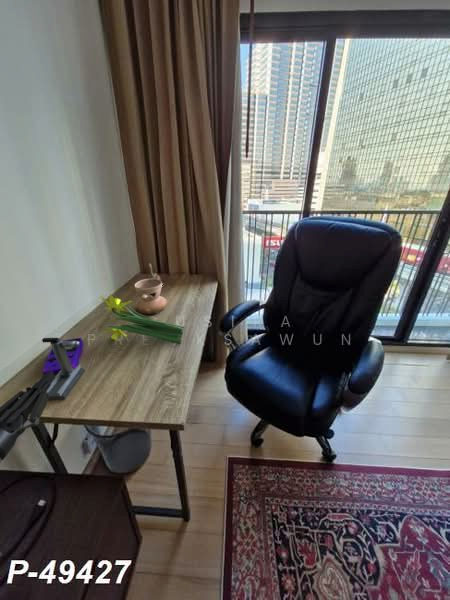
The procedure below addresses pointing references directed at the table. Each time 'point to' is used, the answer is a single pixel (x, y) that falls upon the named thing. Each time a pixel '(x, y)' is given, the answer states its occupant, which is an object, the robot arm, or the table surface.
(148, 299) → the ceramic jug
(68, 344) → the tap
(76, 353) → the handheld gaming console
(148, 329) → the daffodil flowers
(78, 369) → the base
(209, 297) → the table surface
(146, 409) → the table surface
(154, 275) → the ostrich figurine
